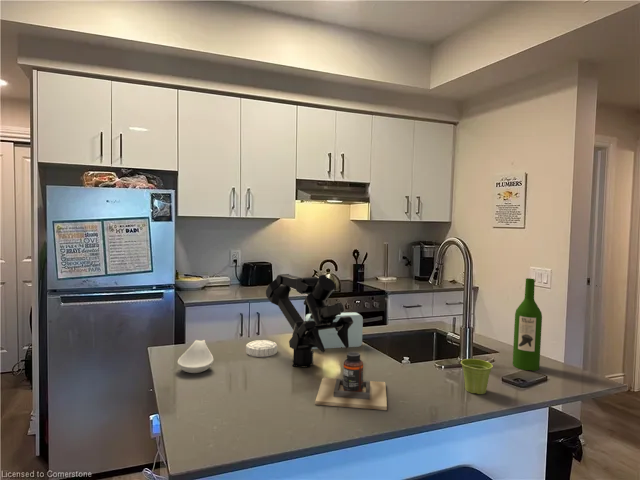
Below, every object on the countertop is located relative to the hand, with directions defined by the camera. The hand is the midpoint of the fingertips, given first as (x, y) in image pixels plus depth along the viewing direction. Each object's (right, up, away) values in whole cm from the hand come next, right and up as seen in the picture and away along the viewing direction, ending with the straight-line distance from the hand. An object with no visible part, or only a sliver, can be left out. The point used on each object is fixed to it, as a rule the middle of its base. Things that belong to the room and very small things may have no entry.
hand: (336, 349), depth 136 cm
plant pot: (+44, -13, -2) cm, 45 cm away
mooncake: (-28, -9, +31) cm, 43 cm away
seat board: (+5, -12, -7) cm, 14 cm away
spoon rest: (-48, -10, +15) cm, 52 cm away
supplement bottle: (+5, -11, -7) cm, 14 cm away
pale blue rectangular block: (0, -9, +41) cm, 42 cm away
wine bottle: (+71, -12, +22) cm, 75 cm away
